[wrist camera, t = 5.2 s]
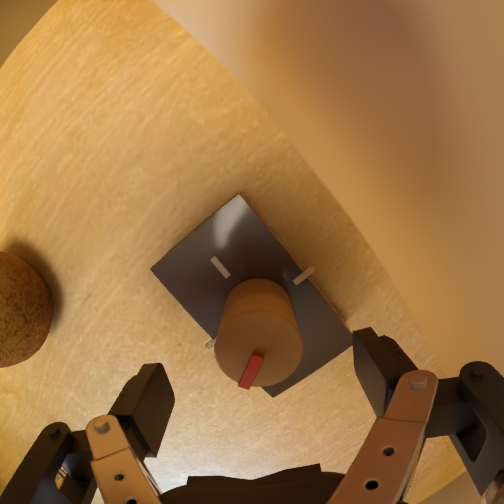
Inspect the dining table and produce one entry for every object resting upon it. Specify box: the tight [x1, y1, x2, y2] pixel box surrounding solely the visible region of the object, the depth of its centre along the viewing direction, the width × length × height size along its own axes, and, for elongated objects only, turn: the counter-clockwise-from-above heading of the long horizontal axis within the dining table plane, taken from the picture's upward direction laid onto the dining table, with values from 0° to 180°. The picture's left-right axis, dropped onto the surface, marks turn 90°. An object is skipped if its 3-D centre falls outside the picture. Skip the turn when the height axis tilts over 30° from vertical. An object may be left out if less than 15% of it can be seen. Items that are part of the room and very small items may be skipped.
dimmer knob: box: [214, 278, 303, 390], centre depth 15 cm, size 4×4×5 cm
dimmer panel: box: [150, 192, 353, 397], centre depth 19 cm, size 12×8×3 cm
